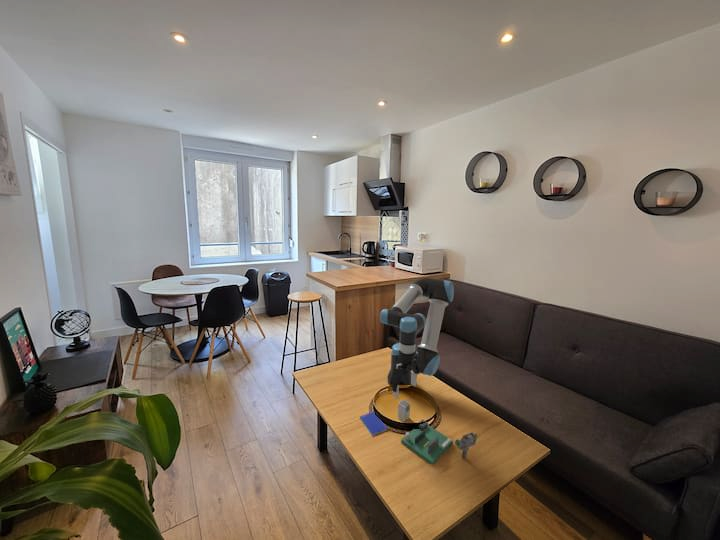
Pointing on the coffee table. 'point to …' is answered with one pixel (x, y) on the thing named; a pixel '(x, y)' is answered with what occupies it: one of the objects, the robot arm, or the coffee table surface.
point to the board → (429, 436)
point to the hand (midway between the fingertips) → (404, 390)
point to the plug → (403, 410)
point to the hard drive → (373, 423)
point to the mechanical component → (466, 443)
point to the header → (432, 444)
